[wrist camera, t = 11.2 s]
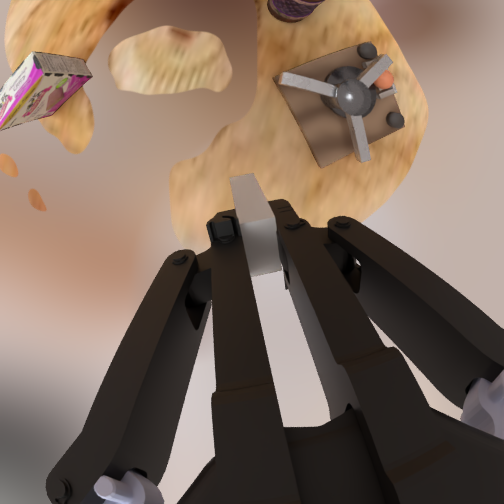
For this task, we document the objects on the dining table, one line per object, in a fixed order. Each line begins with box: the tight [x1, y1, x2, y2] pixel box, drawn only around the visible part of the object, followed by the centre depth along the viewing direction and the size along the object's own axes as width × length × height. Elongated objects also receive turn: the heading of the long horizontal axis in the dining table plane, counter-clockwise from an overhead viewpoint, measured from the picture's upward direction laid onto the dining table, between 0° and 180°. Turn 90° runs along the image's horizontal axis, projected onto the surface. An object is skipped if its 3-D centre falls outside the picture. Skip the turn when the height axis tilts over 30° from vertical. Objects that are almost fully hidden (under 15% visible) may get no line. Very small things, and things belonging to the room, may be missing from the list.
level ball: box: [373, 69, 394, 89], centre depth 35 cm, size 4×4×4 cm
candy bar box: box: [0, 51, 93, 131], centre depth 24 cm, size 11×5×16 cm, turn 117°
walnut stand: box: [273, 41, 405, 168], centre depth 39 cm, size 18×20×4 cm
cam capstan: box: [278, 54, 393, 163], centre depth 36 cm, size 19×16×8 cm
